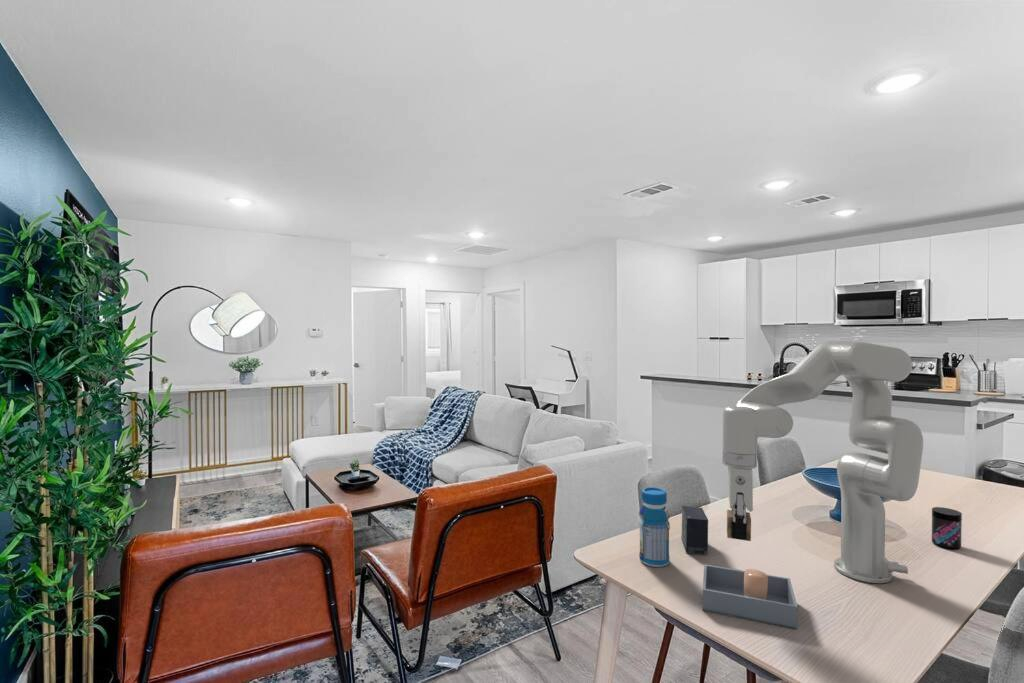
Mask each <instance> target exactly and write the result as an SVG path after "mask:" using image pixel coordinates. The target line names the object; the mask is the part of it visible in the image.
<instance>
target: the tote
mask: <svg viewBox="0 0 1024 683" xmlns="http://www.w3.org/2000/svg"><path fill="white" fill-rule="evenodd" d="M744 571H745V570H741V569H734V568H728V567H723V566H719V565H717V566H716V565H712V564H711V565H710V564H705V563H704V565H703V576H702V578H703V579H702V611H703V612H705V613H706V612H707V613H712V614H717V615H722V616H727V617H731V618H738V619H742V620H747V621H751V622H752V621H753V622H756V623H757V622H758V623H761V624H768V625H771V626H777V627H781V628H786V629H787V628H788V629H793V630H796V631H797V630H799V629H798V620H799V619H798V618H799V617H798V616H799V615H798V614H799V613H798V610H799V608H798V604H797V600H796V596H795V592H794V589H793V585H792V582H791V578H790V577H789V578H788V577H785V576H784V577H783V576H778V575H771V574H766V575H767V576H768V590H767V600H764V599H759V598H753V597H748V596H743V592H744Z"/></svg>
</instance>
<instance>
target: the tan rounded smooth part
mask: <svg viewBox="0 0 1024 683" xmlns="http://www.w3.org/2000/svg"><path fill="white" fill-rule="evenodd" d="M743 571H744V592H743V596H748V597H753V598H759V599H764V600H767V590H768V576H767V575H768V574H766V573H765V572H764V571H761V570H758V569H753V568H749V569H745V570H743Z"/></svg>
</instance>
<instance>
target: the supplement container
mask: <svg viewBox="0 0 1024 683" xmlns="http://www.w3.org/2000/svg"><path fill="white" fill-rule="evenodd" d="M962 522H963V513H962V512H960V511H959V510H957V509H953V508H949V507H941V506H940V507H939V506H934V507H932V508H931V543H932V544H933V545H935V546H936V547H939V548H940V549H945V550H949V551H958V550H960V549H961V548H962V526H963V525H962Z"/></svg>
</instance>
